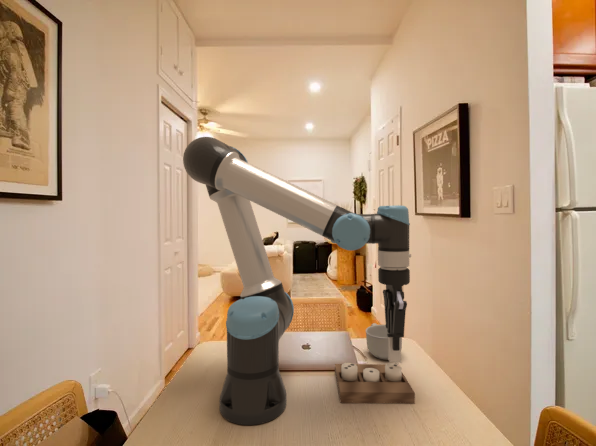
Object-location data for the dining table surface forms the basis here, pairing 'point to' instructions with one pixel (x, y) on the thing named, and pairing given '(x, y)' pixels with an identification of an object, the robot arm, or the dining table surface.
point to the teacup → (378, 341)
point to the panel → (373, 388)
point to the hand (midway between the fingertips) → (394, 361)
